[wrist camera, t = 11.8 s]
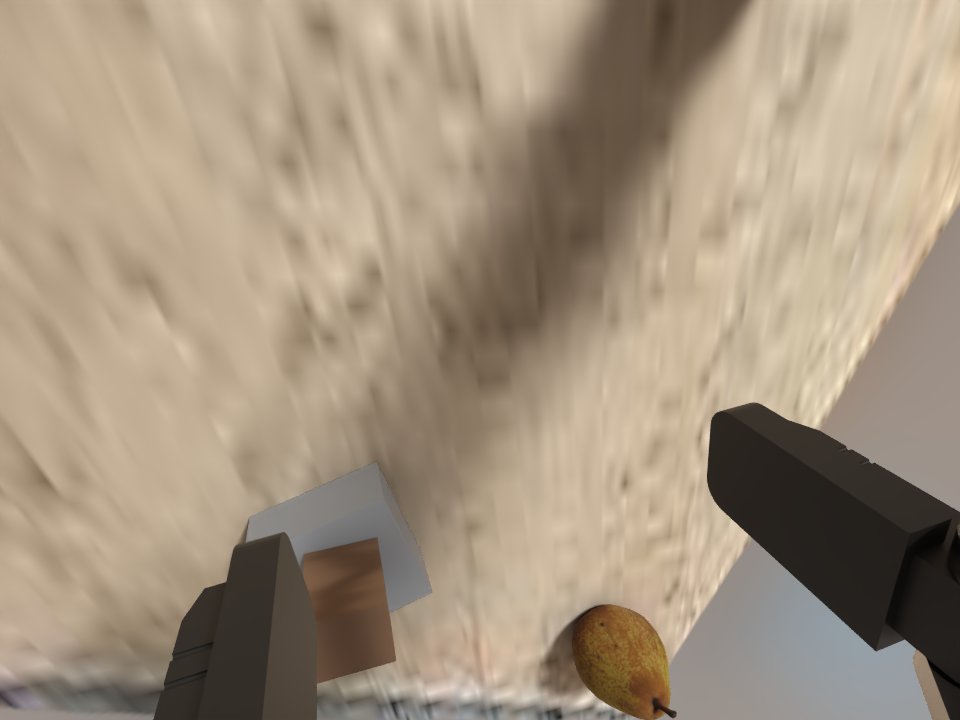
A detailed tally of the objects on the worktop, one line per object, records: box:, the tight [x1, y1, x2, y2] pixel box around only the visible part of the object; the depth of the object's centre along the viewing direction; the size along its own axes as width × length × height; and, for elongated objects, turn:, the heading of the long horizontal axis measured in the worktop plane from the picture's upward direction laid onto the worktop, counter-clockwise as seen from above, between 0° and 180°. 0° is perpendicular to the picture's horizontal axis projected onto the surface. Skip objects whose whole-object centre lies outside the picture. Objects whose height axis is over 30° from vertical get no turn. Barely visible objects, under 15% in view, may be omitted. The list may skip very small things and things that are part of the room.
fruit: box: [572, 604, 676, 720], centre depth 50 cm, size 9×9×12 cm
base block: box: [246, 462, 432, 613], centre depth 40 cm, size 10×10×5 cm
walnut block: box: [303, 538, 396, 683], centre depth 35 cm, size 5×5×6 cm
